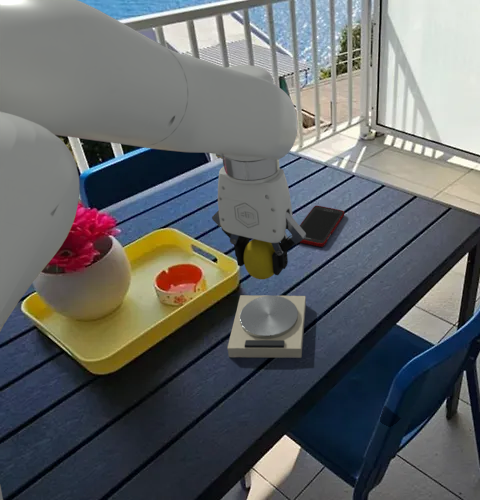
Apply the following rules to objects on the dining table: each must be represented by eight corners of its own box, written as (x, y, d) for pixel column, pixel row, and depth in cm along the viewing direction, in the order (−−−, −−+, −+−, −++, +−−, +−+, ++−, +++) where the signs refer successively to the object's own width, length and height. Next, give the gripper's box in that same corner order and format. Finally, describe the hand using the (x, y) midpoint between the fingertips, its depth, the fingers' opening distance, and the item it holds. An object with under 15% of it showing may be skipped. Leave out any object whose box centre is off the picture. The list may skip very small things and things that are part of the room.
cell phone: (345, 214, 119) (345, 210, 118) (323, 248, 107) (323, 244, 107) (315, 208, 121) (315, 204, 120) (290, 241, 109) (290, 237, 109)
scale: (301, 357, 83) (300, 345, 81) (228, 357, 83) (226, 344, 81) (305, 304, 93) (305, 292, 92) (241, 304, 93) (239, 291, 91)
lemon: (239, 278, 80) (233, 238, 76) (266, 263, 84) (262, 223, 79) (261, 294, 78) (256, 253, 73) (287, 278, 81) (285, 238, 76)
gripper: (181, 162, 68) (202, 267, 78) (297, 185, 63) (302, 292, 74) (211, 141, 73) (226, 241, 84) (319, 160, 69) (321, 263, 80)
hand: (262, 264), depth 79 cm, fingers closed on lemon, 5 cm apart
